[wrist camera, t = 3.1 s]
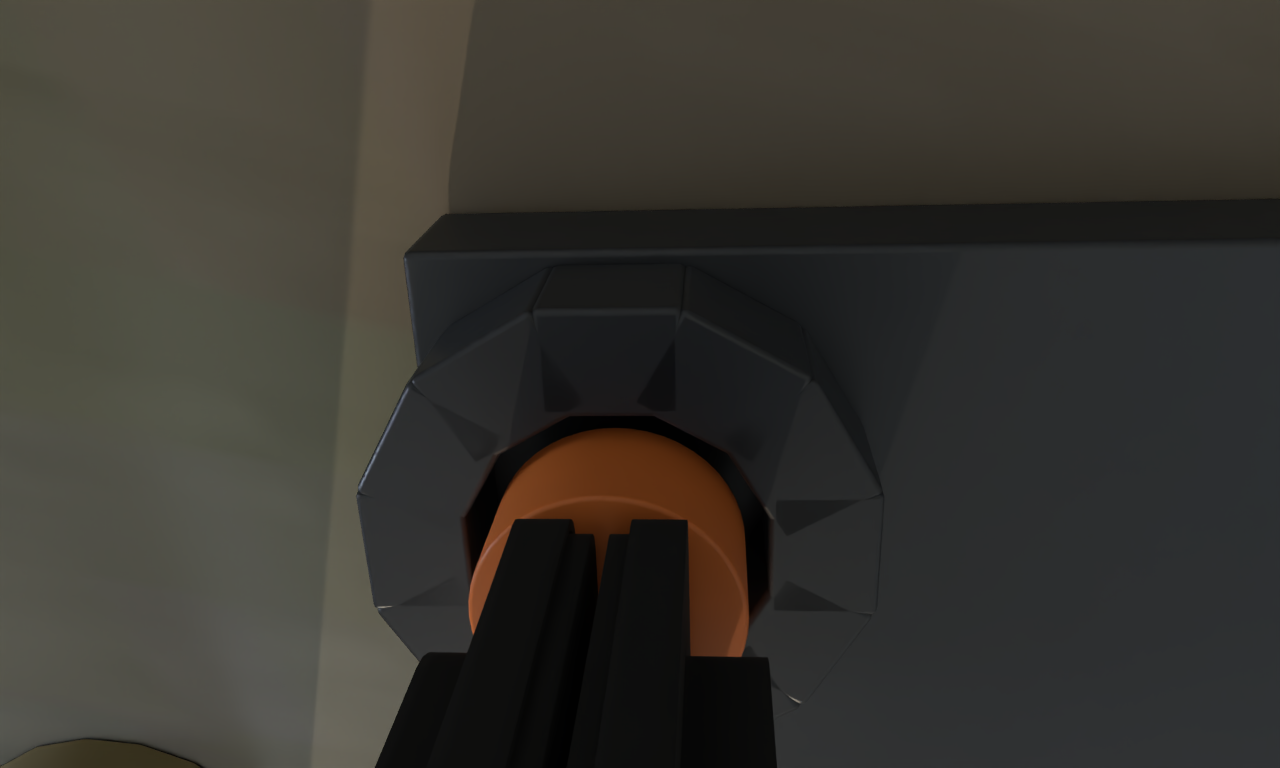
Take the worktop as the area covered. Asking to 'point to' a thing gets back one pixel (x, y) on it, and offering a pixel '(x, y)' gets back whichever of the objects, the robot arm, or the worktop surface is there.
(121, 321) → the worktop surface
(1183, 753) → the scale
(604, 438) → the button
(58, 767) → the cork
